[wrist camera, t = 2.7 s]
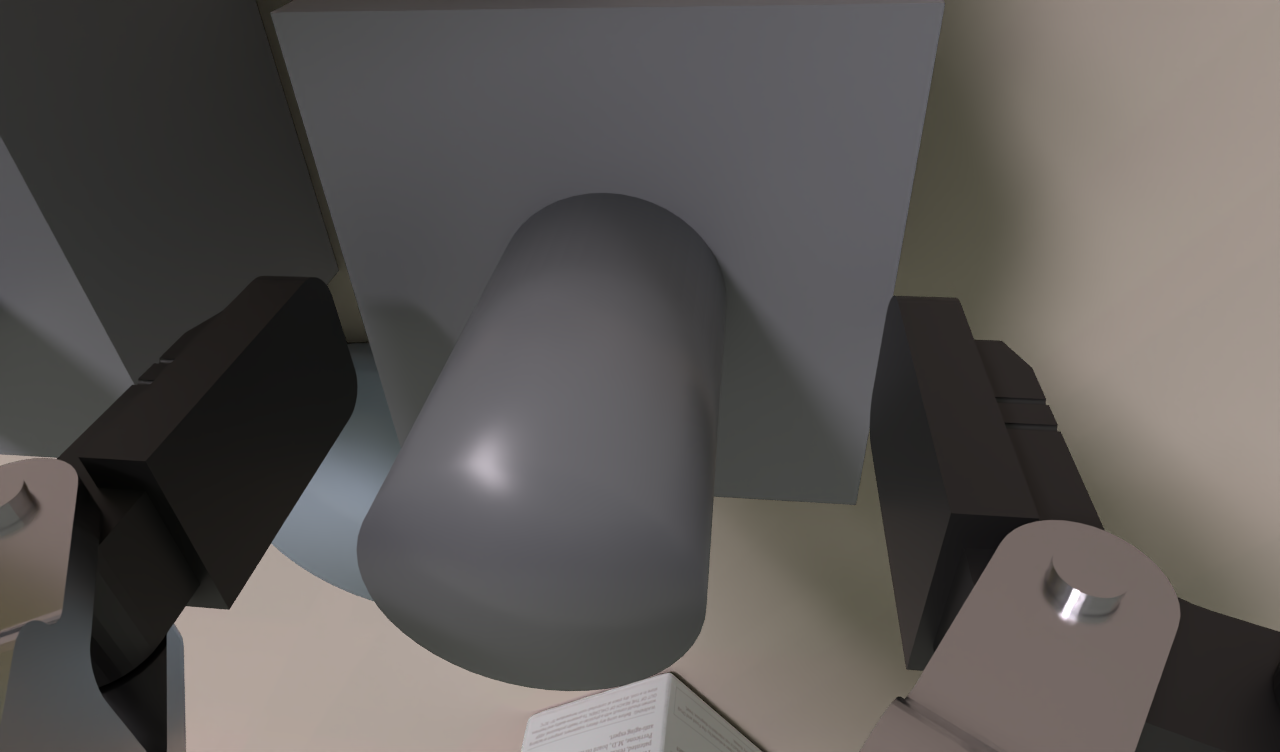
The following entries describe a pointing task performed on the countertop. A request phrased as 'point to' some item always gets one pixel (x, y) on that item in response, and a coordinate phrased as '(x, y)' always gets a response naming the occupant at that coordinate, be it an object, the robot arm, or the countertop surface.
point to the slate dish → (344, 486)
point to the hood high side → (134, 195)
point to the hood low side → (606, 292)
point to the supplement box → (635, 722)
